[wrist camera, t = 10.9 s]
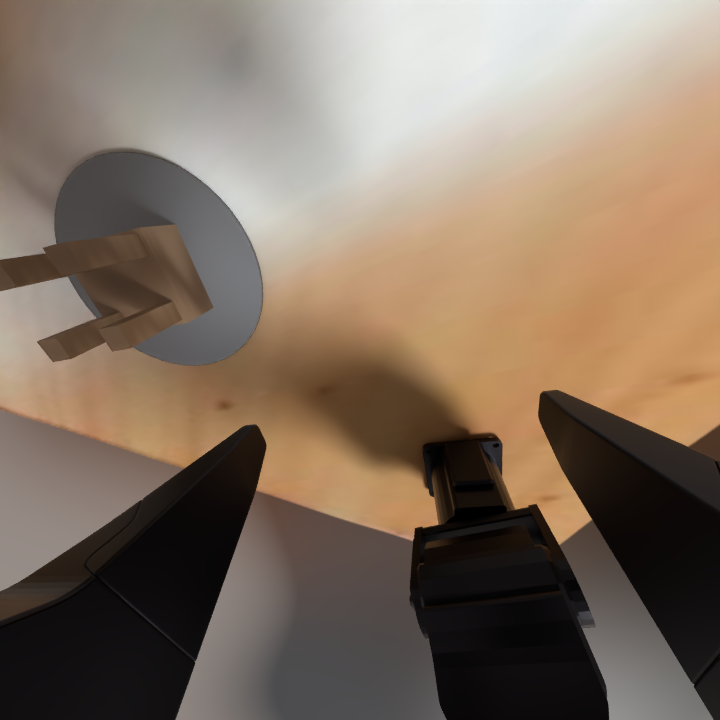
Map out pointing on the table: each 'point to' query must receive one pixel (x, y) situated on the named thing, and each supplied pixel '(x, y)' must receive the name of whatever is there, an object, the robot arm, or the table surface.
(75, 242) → the stool
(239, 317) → the mat
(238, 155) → the table surface
